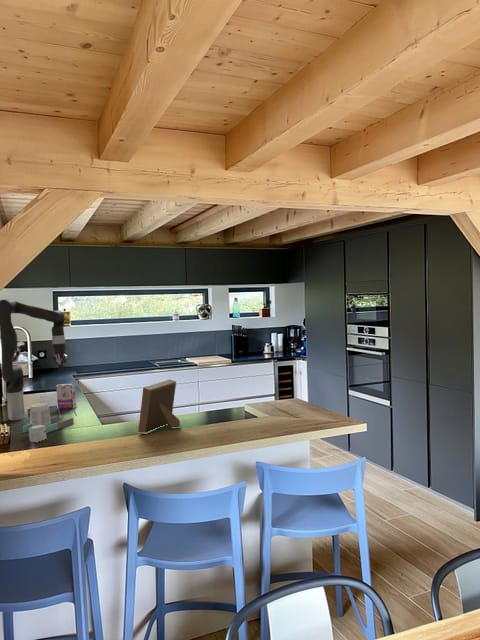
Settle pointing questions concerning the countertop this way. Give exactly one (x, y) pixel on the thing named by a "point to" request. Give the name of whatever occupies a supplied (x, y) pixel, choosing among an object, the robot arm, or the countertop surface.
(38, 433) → the skincare box
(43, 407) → the supplement tub
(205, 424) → the countertop surface
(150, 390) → the photo frame
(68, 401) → the candy bar box
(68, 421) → the chute
